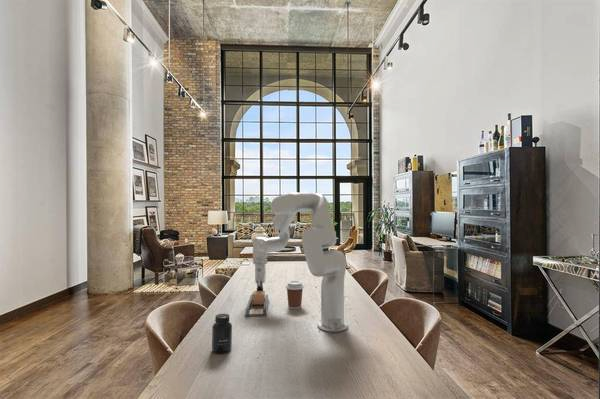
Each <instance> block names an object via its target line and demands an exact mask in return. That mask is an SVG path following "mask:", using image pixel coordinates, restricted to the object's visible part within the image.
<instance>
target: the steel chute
mask: <svg viewBox="0 0 600 399" xmlns="http://www.w3.org/2000/svg"><path fill="white" fill-rule="evenodd" d="M269 306H270V298H269V294H265V302H264V304H255V305H252V294H250V297H249V298H248V302H247V304H246V308H245V313H244V317H268V311H269Z"/></svg>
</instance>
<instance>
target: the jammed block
mask: <svg viewBox="0 0 600 399" xmlns="http://www.w3.org/2000/svg"><path fill="white" fill-rule="evenodd" d="M251 295H252V305H255V304H264V302H265V297H266V291H265V290H263V291H257V290H253V291H252V294H251Z"/></svg>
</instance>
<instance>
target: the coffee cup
mask: <svg viewBox="0 0 600 399" xmlns="http://www.w3.org/2000/svg"><path fill="white" fill-rule="evenodd" d="M304 288H305V285H304V284H303V282H302V281H301V280H300V281H299V280H290V281H288V282H287V284H286V285H285V289H286V296H287V307H288V308H289V309H292V310H298V309H301V308H302V302H303V290H304Z"/></svg>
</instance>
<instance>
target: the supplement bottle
mask: <svg viewBox="0 0 600 399" xmlns="http://www.w3.org/2000/svg"><path fill="white" fill-rule="evenodd" d="M214 322H215V323H213V324H212V326H211V327H212V328H211V352H212V353H214V354H217V355H218V354H219V355H223V354H227V353H229V352H230V351H231V350H232V346H233V345H232V343H233V342H232V341H233V324H232V323H231V322H230V314H229V313H228V314H227V313H218V314H216V315H215V319H214Z"/></svg>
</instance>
